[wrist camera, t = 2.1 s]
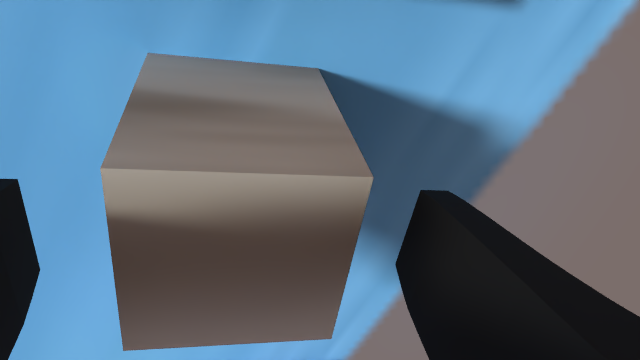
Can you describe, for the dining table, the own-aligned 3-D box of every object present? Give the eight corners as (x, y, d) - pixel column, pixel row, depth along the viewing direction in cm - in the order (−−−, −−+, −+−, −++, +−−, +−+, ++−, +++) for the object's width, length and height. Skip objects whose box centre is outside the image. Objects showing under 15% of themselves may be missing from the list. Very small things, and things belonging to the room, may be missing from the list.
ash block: (297, 197, 13) (331, 338, 9) (155, 194, 12) (123, 351, 8) (318, 67, 11) (374, 177, 7) (148, 52, 10) (100, 168, 6)
